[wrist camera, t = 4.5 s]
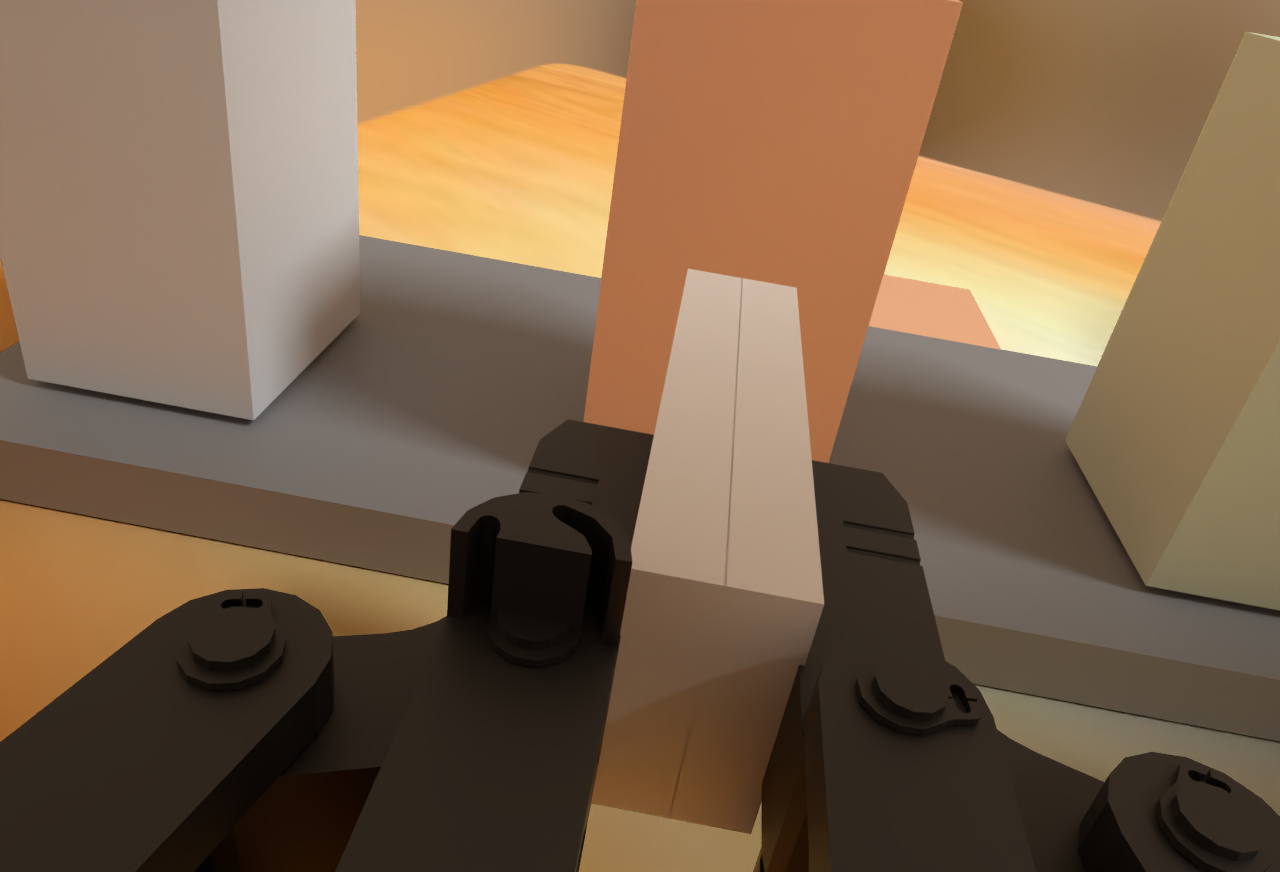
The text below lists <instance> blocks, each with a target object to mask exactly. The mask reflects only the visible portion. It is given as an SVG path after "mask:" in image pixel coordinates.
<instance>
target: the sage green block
mask: <svg viewBox="0 0 1280 872" xmlns="http://www.w3.org/2000/svg"><path fill="white" fill-rule="evenodd" d="M1065 441H1066V443H1067V445H1068V447H1069V448H1070V450H1071V452H1072V454H1073V456H1074V457H1075V459H1076V461H1077V463H1078V465H1079V466H1080V468H1081V470H1082V472H1083V474H1084V475H1085V477H1086V479H1087V481H1088V483H1089V484H1090V486H1091V488H1092V490H1093V492H1094V493H1095V495H1096V497H1097V499H1098V501H1099V502H1100V504H1101V506H1102V508H1103V510H1104V511H1105V513H1106V515H1107V517H1108V519H1109V520H1110V522H1111V524H1112V526H1113V528H1114V529H1115V531H1116V533H1117V535H1118V537H1119V539H1120V540H1121V542H1122V544H1123V546H1124V548H1125V549H1126V551H1127V553H1128V555H1129V557H1130V558H1131V560H1132V562H1133V564H1134V566H1135V567H1136V569H1137V571H1138V573H1139V575H1140V576H1141V578H1142V580H1143V582H1144V584H1145V585H1146V586H1150V587H1156V588H1161V589H1167V590H1172V591H1177V592H1183V593H1188V594H1194V595H1199V596H1204V597H1210V598H1215V599H1221V600H1226V601H1231V602H1237V603H1242V604H1248V605H1253V606H1258V607H1264V608H1269V609H1275V610H1280V37H1274V36H1268V35H1262V34H1256V33H1250V32H1245V35H1244V37H1243V39H1242V42H1241V44H1240V46H1239V48H1238V51H1237V53H1236V55H1235V57H1234V60H1233V62H1232V64H1231V66H1230V69H1229V71H1228V73H1227V75H1226V78H1225V80H1224V82H1223V84H1222V87H1221V89H1220V91H1219V94H1218V96H1217V98H1216V100H1215V102H1214V105H1213V107H1212V109H1211V111H1210V114H1209V116H1208V118H1207V120H1206V123H1205V125H1204V127H1203V130H1202V132H1201V134H1200V137H1199V139H1198V141H1197V143H1196V145H1195V148H1194V150H1193V152H1192V154H1191V157H1190V159H1189V161H1188V163H1187V166H1186V168H1185V170H1184V172H1183V175H1182V177H1181V179H1180V181H1179V184H1178V186H1177V188H1176V190H1175V193H1174V195H1173V197H1172V199H1171V202H1170V204H1169V206H1168V209H1167V211H1166V213H1165V215H1164V218H1163V220H1162V222H1161V224H1160V227H1159V229H1158V231H1157V233H1156V236H1155V238H1154V240H1153V242H1152V245H1151V247H1150V249H1149V251H1148V254H1147V256H1146V258H1145V260H1144V263H1143V265H1142V267H1141V269H1140V272H1139V274H1138V276H1137V278H1136V281H1135V283H1134V285H1133V288H1132V290H1131V292H1130V294H1129V297H1128V299H1127V301H1126V303H1125V306H1124V308H1123V310H1122V312H1121V315H1120V317H1119V319H1118V321H1117V324H1116V326H1115V328H1114V330H1113V333H1112V335H1111V337H1110V339H1109V342H1108V344H1107V346H1106V348H1105V351H1104V353H1103V355H1102V358H1101V360H1100V362H1099V364H1098V367H1097V369H1096V371H1095V373H1094V376H1093V378H1092V380H1091V382H1090V385H1089V387H1088V389H1087V391H1086V394H1085V396H1084V398H1083V400H1082V403H1081V405H1080V407H1079V409H1078V412H1077V414H1076V416H1075V418H1074V421H1073V423H1072V425H1071V427H1070V430H1069V432H1068V434H1067V437H1066V439H1065Z"/></svg>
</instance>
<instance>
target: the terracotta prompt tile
mask: <svg viewBox="0 0 1280 872" xmlns="http://www.w3.org/2000/svg"><path fill="white" fill-rule="evenodd" d="M869 326H871V327H877V328H882V329H888V330H894V331H899V332H905V333H910V334H916V335H922V336H927V337H933V338H939V339H944V340H950V341H955V342H961V343H967V344H972V345H978V346H983V347H989V348H995V349H1000V347H999V345H998V343H997V341H996V339H995V337H994V336H993V334H992V332H991V330H990V328H989V326H988V324H987V322H986V320H985V318H984V316H983V315H982V313H981V311H980V309H979V307H978V305H977V303H976V301H975V299H974V297H973V295H972V294H971V292H970V290H968V289H962V288H956V287H951V286H945V285H939V284H934V283H928V282H922V281H917V280H911V279H905V278H900V277H894V276H888V275H883V278H882V281H881V285H880V288H879V292H878V295H877V299H876V302H875V305H874V309H873V312H872V316H871V319H870V322H869ZM1000 350H1001V349H1000Z"/></svg>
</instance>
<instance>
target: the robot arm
mask: <svg viewBox="0 0 1280 872" xmlns="http://www.w3.org/2000/svg"><path fill="white" fill-rule="evenodd" d="M914 534H915V533H914V529H913V524H912V520H911V516H910V512H909V508H908V504H907V502H906V501H905V499H904V498H903V497H902V496H901V495H900V493H899V492H898V491H897V490H896V489H895V487H894V486H893V485H892V484H891V483H890V481H889V480H888V479H887V478H886V477H885V476H884V474H883V473H880V472H875V471H869V470H864V469H858V468H853V467H847V466H842V465H836V464H831V463H825V462H820V461H814V460H812V458H811V447H810V435H809V424H808V412H807V401H806V389H805V378H804V367H803V355H802V344H801V332H800V321H799V310H798V298H797V288H796V287H790V286H784V285H779V284H773V283H767V282H762V281H756V280H750V279H744V278H739V277H733V276H727V275H722V274H716V273H710V272H705V271H699V270H693V269H688V271H687V276H686V281H685V286H684V291H683V296H682V300H681V305H680V310H679V315H678V320H677V325H676V330H675V335H674V340H673V345H672V349H671V354H670V359H669V364H668V369H667V374H666V379H665V384H664V389H663V394H662V398H661V403H660V408H659V413H658V418H657V423H656V428H655V433H654V435H652V434H647V433H641V432H636V431H630V430H625V429H619V428H614V427H608V426H603V425H597V424H592V423H586V422H580V421H575V420H569V419H568V420H566V421H565V422H564V423H562V424H561V425H559V426H558V427H557V428H555V429H554V430H552V431H551V432H550V433H548V434H547V435H545V436H544V437H543V438H541V439H540V441H539V443H538V446H537V448H536V450H535V453H534V455H533V458H532V460H531V462H530V465H529V469H528V472H526V475H525V477H524V479H523V482H522V484H521V487H520V489H519V493H518V494H512V495H506V496H500V497H494V498H492V499H490V500H488V501H486V502H483V503H481V504H479V505H477V506H475V507H473V508H471V509H469V510H467V511H466V513H465V514H464V515H463V516H462V517H461V518H460V519H459V521H458V522H457V523H456V524H455V525H454V526H453V527H452V528H451V541H450V564H449V587H448V610H447V616H446V617H444V618H442V619H441V620H439V621H437V622H435V623H431V624H428V625H425V626H422V627H419V628H416V629H413V630H407V631H400V632H393V633H386V634H371V635H353V636H336V637H333V636H332V631H331V629H330V627H329V626H328V624H327V622H326V620H325V619H324V617H323V615H322V614H321V612H320V610H318V609H316V608H315V607H313V606H312V605H310V604H308V603H307V602H305V601H304V600H302V599H300V598H299V597H297V596H296V595H291V594H286V593H282V592H277V591H273V590H268V589H264V588H262V589H240V590H225V591H222V592H218V593H215V594H211V595H208V596H204V597H201V598H197V599H194V600H190V601H188V602H187V603H185V604H183V605H181V606H180V607H178V608H176V609H174V610H173V611H171V612H169V613H168V614H166V615H164V616H162V617H161V618H159V619H157V620H156V621H155V622H153V623H152V624H151V625H150V626H148V627H147V628H146V629H145V630H143V631H142V632H141V633H139V634H138V635H137V636H136V637H134V638H133V639H132V640H130V641H129V642H128V643H127V644H125V645H124V646H123V647H122V648H120V649H119V650H118V651H116V652H115V653H114V654H113V655H111V656H110V657H109V658H107V659H106V660H105V661H104V662H102V663H101V664H100V665H99V666H97V667H96V668H95V669H93V670H92V671H91V672H90V673H88V674H87V675H86V676H84V677H83V678H82V679H81V680H79V681H78V682H77V683H75V684H74V685H73V686H72V687H70V688H69V689H68V690H67V691H65V692H64V693H63V694H61V695H60V696H59V697H58V698H56V699H55V700H54V701H52V702H51V703H50V704H49V705H47V706H46V707H45V708H44V709H42V710H41V711H40V712H38V713H37V714H36V715H35V716H33V717H32V718H31V719H29V720H28V721H27V722H26V723H24V724H23V725H22V726H21V727H19V728H18V729H17V730H15V731H14V732H13V733H12V734H10V735H9V736H8V737H6V738H5V739H4V740H3V741H1V742H0V872H579V867H580V862H581V856H582V850H583V845H584V839H585V833H586V827H587V822H588V816H589V811H590V806H591V803H593V804H598V805H603V806H608V807H614V808H619V809H624V810H629V811H634V812H639V813H645V814H650V815H655V816H660V817H665V818H671V819H676V820H681V821H686V822H691V823H697V824H702V825H707V826H712V827H717V828H723V829H728V830H733V831H738V832H743V833H748V834H751V832H752V829H753V826H754V823H755V820H756V817H757V813H758V810H759V807H760V804H761V801H762V847H761V850H760V853H759V856H758V859H757V862H756V865H755V868H754V871H753V872H1280V816H1279V815H1278V814H1277V813H1276V812H1275V811H1274V810H1273V809H1272V808H1271V807H1270V806H1269V805H1268V804H1267V803H1266V802H1265V801H1264V800H1263V799H1261V798H1260V797H1259V796H1257V795H1256V794H1254V793H1253V792H1251V791H1250V790H1248V789H1247V788H1245V787H1244V786H1242V785H1241V784H1239V783H1238V782H1236V781H1235V780H1233V779H1232V778H1230V777H1229V776H1227V775H1226V774H1224V773H1222V772H1220V771H1217V770H1215V769H1213V768H1210V767H1208V766H1205V765H1203V764H1201V763H1198V762H1196V761H1193V760H1191V759H1189V758H1186V757H1180V756H1174V755H1168V754H1161V753H1155V752H1149V753H1145V754H1140V755H1135V756H1131V757H1126V758H1124V759H1123V760H1122V762H1121V763H1120V764H1119V765H1118V766H1117V767H1116V768H1115V769H1114V770H1113V771H1112V772H1111V773H1110V774H1109V776H1108V778H1107V779H1106V781H1105V782H1102V781H1100V780H1098V779H1096V778H1093V777H1091V776H1089V775H1086V774H1084V773H1082V772H1080V771H1077V770H1075V769H1073V768H1070V767H1068V766H1066V765H1064V764H1061V763H1059V762H1057V761H1054V760H1052V759H1050V758H1048V757H1045V756H1043V755H1041V754H1038V753H1036V752H1034V751H1032V750H1030V749H1029V748H1027V747H1025V746H1023V745H1021V744H1019V743H1017V742H1015V741H1013V740H1011V739H1010V738H1008V737H1007V736H1005V735H1004V734H1003V733H1001V732H1000V731H998V730H997V729H996V725H995V722H994V718H993V716H992V714H991V712H990V710H989V708H988V706H987V704H986V702H985V700H984V698H983V696H982V694H981V692H980V690H979V689H978V688H977V687H976V686H975V685H974V684H973V683H972V682H971V681H970V680H969V679H968V678H967V677H966V676H964V675H963V674H962V673H961V672H960V671H959V670H958V669H957V668H956V667H955V666H953V665H952V664H950V663H948V662H946V661H945V658H944V653H943V649H942V645H941V641H940V637H939V633H938V628H937V624H936V620H935V616H934V612H933V608H932V603H931V599H930V595H929V591H928V587H927V583H926V579H925V574H924V570H923V566H920V561H921V558H920V554H919V549H918V545H917V541H916V540H915V539H914Z"/></svg>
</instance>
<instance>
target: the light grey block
mask: <svg viewBox="0 0 1280 872" xmlns="http://www.w3.org/2000/svg"><path fill="white" fill-rule="evenodd" d="M355 20H356V19H355V0H0V258H1V262H2V267H3V271H4V275H5V280H6V284H7V289H8V293H9V298H10V302H11V306H12V311H13V315H14V320H15V324H16V328H17V333H18V337H19V342H20V346H21V350H22V355H23V359H24V364H25V368H26V373H27V377H28V379H33V380H38V381H44V382H49V383H55V384H60V385H65V386H71V387H76V388H82V389H87V390H92V391H98V392H103V393H109V394H114V395H119V396H125V397H130V398H136V399H141V400H146V401H152V402H157V403H163V404H168V405H173V406H179V407H184V408H190V409H195V410H200V411H206V412H211V413H217V414H222V415H227V416H233V417H238V418H244V419H249V420H255V419H256V418H257V417H258V416H259V415H260V414H261V413H262V412H263V411H264V410H265V409H266V408H267V407H268V406H269V404H270V403H271V402H272V401H273V400H274V399H275V398H276V397H277V396H278V395H279V394H280V393H281V392H282V391H283V390H284V389H285V388H286V387H287V386H288V385H289V384H290V383H291V382H292V381H293V380H294V379H295V378H296V377H297V376H298V375H299V374H300V373H301V372H302V371H303V370H304V369H305V368H306V367H307V366H308V365H309V364H310V363H311V362H312V361H313V360H314V359H315V358H316V357H317V356H318V355H319V354H320V353H321V352H322V351H323V350H324V349H325V348H326V347H327V346H328V345H329V344H330V343H331V342H332V341H333V340H334V339H335V338H336V337H337V336H338V335H339V334H340V333H341V332H342V331H343V330H344V329H345V328H346V327H347V326H348V325H349V324H350V323H351V322H352V321H353V320H354V319H355V318H356V317H357V316H358V315H359V314H360V255H359V195H358V135H357V79H356V78H357V77H356V21H355Z"/></svg>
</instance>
